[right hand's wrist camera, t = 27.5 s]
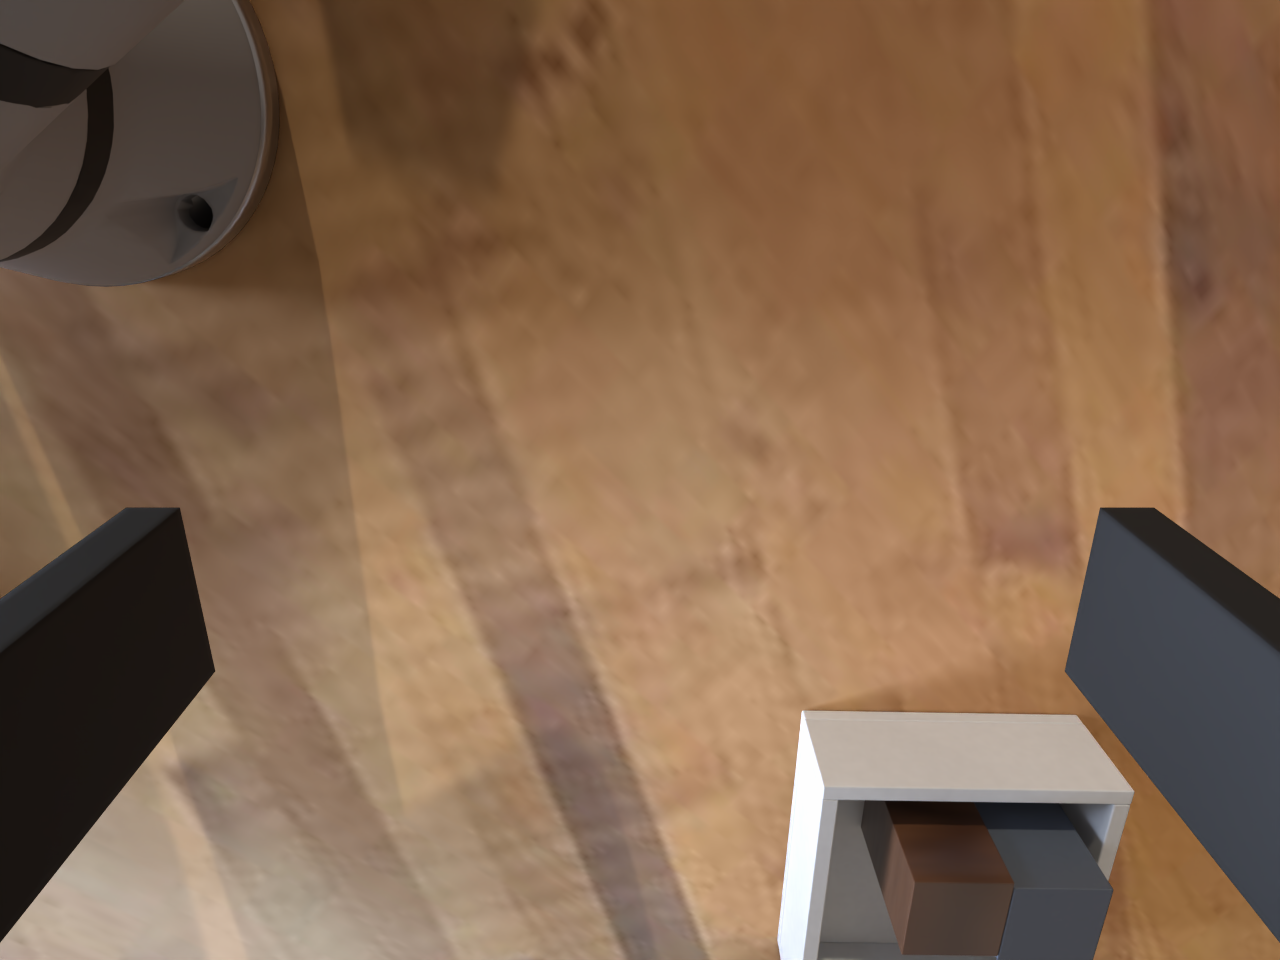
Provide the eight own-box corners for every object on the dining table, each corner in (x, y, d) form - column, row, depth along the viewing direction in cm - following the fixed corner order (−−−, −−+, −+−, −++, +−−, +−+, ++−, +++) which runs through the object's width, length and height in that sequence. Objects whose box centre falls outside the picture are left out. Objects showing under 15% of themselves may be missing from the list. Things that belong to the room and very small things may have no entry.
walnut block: (860, 827, 47) (901, 955, 40) (870, 761, 46) (914, 882, 38) (942, 828, 48) (997, 956, 40) (954, 762, 46) (1015, 883, 38)
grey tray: (985, 1076, 56) (1022, 1176, 51) (762, 1073, 56) (775, 1173, 51) (1077, 714, 46) (1135, 791, 40) (801, 709, 46) (823, 786, 40)
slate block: (941, 832, 48) (996, 961, 40) (953, 767, 46) (1014, 888, 39) (1022, 833, 48) (1092, 962, 40) (1037, 768, 46) (1114, 889, 39)
